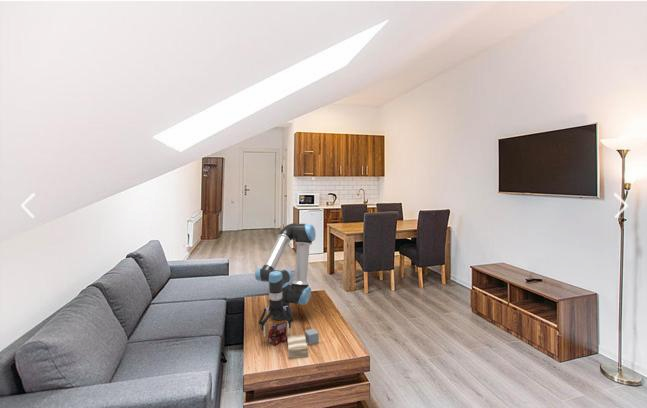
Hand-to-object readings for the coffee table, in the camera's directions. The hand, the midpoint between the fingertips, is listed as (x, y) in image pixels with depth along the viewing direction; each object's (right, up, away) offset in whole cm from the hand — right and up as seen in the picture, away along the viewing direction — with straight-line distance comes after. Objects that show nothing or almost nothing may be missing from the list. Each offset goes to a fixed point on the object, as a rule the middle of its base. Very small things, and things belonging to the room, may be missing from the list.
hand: (276, 334), depth 178 cm
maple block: (+13, -5, -8) cm, 16 cm away
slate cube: (+21, -4, 0) cm, 21 cm away
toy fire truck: (0, -5, +1) cm, 5 cm away
